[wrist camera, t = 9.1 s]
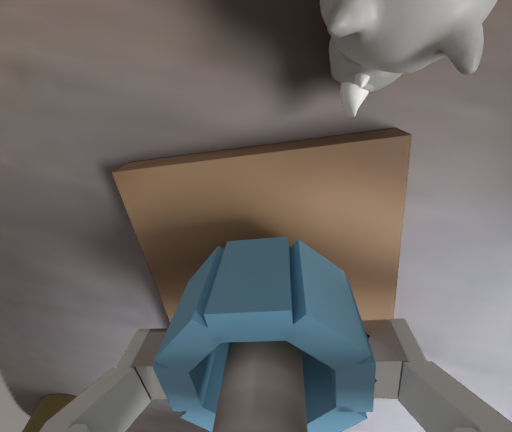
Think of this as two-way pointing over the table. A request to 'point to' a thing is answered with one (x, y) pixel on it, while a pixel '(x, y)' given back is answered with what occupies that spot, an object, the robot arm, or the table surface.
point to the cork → (47, 410)
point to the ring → (269, 331)
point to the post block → (269, 226)
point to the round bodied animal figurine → (399, 40)
